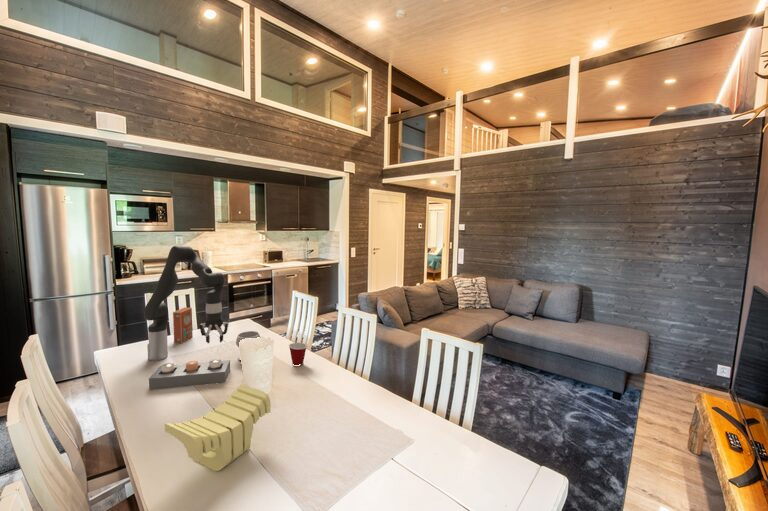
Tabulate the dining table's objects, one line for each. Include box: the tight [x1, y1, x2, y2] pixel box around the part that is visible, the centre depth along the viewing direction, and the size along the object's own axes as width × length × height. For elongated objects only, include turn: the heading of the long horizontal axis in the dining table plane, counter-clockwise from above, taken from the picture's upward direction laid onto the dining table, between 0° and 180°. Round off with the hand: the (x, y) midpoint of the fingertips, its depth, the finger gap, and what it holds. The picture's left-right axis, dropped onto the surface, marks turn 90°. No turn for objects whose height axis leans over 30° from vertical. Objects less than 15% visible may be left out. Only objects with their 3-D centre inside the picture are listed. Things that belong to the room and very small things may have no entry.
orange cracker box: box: [172, 307, 194, 344], centre depth 227 cm, size 21×7×15 cm
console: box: [148, 359, 231, 391], centre depth 172 cm, size 34×15×6 cm, turn 106°
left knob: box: [160, 362, 175, 374], centre depth 169 cm, size 6×6×5 cm
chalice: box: [235, 330, 261, 362], centre depth 201 cm, size 14×14×15 cm
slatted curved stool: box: [164, 383, 271, 472], centre depth 117 cm, size 30×16×18 cm, turn 154°
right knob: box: [208, 358, 222, 370], centre depth 175 cm, size 6×6×5 cm
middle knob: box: [185, 360, 199, 372], centre depth 172 cm, size 6×6×5 cm
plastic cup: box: [288, 342, 308, 365], centre depth 193 cm, size 11×11×12 cm
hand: (214, 342), depth 173 cm, fingers open, 5 cm apart
